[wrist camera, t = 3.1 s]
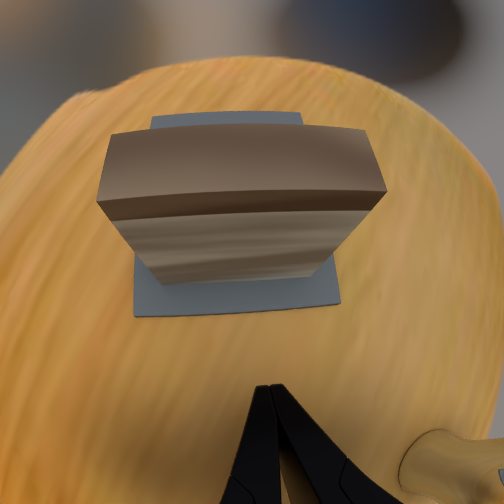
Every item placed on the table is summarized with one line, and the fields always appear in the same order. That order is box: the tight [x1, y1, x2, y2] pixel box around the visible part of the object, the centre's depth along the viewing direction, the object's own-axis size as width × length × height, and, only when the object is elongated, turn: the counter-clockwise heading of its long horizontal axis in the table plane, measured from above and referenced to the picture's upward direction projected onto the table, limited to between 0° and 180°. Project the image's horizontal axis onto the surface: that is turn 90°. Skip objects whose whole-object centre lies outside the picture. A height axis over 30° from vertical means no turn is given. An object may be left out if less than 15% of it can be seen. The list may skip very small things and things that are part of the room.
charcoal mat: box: [134, 111, 341, 317], centre depth 22 cm, size 18×14×1 cm
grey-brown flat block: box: [96, 123, 387, 285], centre depth 15 cm, size 3×10×11 cm, turn 95°
